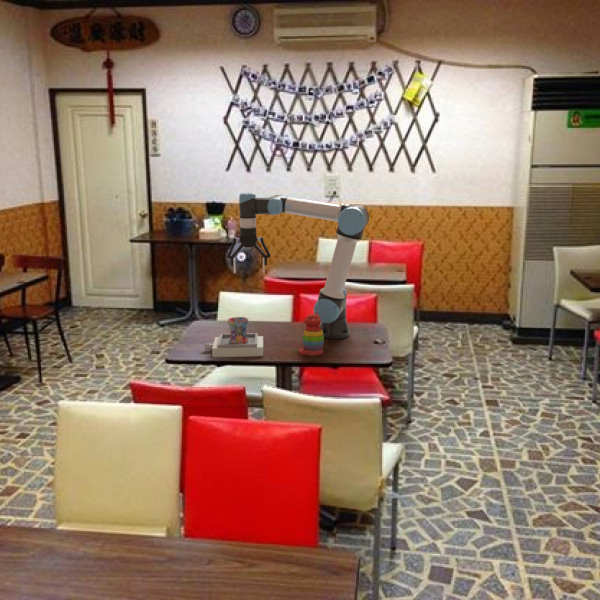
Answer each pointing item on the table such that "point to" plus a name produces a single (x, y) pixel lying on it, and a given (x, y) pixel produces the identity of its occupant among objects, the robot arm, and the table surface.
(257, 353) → the open box
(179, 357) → the table surface
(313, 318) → the stacking bear
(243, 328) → the mug
